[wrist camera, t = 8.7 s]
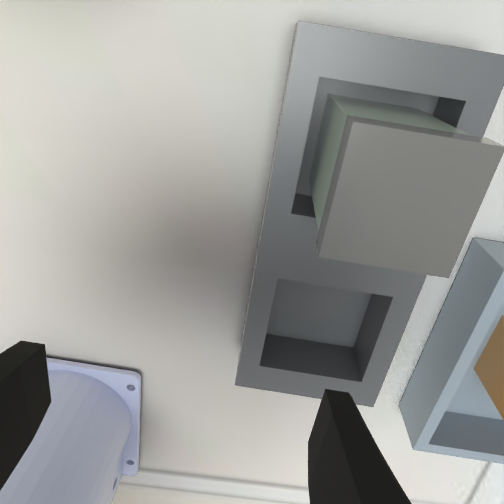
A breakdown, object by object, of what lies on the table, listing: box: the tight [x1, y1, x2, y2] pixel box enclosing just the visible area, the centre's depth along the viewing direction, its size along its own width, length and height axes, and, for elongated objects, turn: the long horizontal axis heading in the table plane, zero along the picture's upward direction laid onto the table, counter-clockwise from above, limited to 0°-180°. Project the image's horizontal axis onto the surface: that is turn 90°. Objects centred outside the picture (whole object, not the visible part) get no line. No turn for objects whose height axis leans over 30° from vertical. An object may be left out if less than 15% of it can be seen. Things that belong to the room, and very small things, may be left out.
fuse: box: [309, 94, 504, 278], centre depth 14 cm, size 4×4×7 cm
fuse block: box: [235, 21, 504, 407], centre depth 18 cm, size 16×7×3 cm, turn 172°
